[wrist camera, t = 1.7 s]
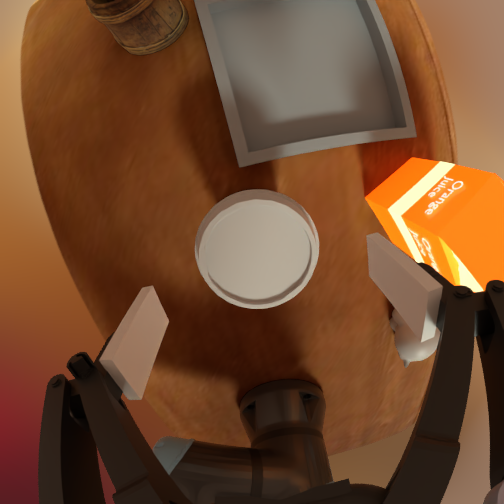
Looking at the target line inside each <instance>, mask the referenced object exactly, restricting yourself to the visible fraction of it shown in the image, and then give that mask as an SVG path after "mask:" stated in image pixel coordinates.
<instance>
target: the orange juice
mask: <svg viewBox="0 0 504 504" xmlns="http://www.w3.org/2000/svg"><path fill="white" fill-rule="evenodd" d="M365 199H366V200H367V202H368V203H369V205H370V207H371V208H372V210H373V211H374V213H375V214H376V216H377V218H378V219H379V221H380V222H381V224H382V226H383V227H384V229H385V231H386V232H387V234H388V236H389V238H390V239H391V241H392V243H394V244H395V245H396V246H398V247H399V248H400V249H402V250H403V251H404V252H406V253H407V254H408V255H409V256H411V257H412V258H413V259H415V261H416V262H418V263H420V262H423V263H425V264H428V265H430V266H431V267H433V268H434V269H435V271H437V272H439V273H440V275H442V276H443V277H445V278H446V279H447V280H448V281H449V282H450V283H452V284H453V285H454V286H456V285H463V286H467V287H469V288H471V290H472V291H473V292H481V291H485V288H486V284H487V282H489V281H490V280H501V281H503V282H504V181H503V180H502V179H501V178H499V176H497V175H496V174H495V173H494V174H493V173H489V172H485V171H481V170H477V169H473V168H468V167H463V166H459V165H455V164H452V163H446V162H441V161H440V162H438V161H432V160H426V159H420V158H413V157H412V158H411V159H409V160H408V161H407V162H406V163H405V164H404V165H403V166H401V167H400V168H399V169H398V170H397V171H396V172H394V173H393V174H392V175H391V176H390V177H389V178H387V179H386V180H385V181H384V182H383V183H382V184H380V185H379V186H378V187H377V188H376V189H374V190H373V191H372V192H371V193H370V194H369V195H367V196H366V197H365Z"/></svg>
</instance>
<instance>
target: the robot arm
mask: <svg viewBox="0 0 504 504" xmlns="http://www.w3.org/2000/svg"><path fill="white" fill-rule="evenodd" d="M366 236H367V248H368V263H369V276H370V278H371V279H372V280H373V281H374V282H375V284H376V285H377V286H378V287H379V289H380V290H381V291H382V292H383V293H384V295H385V296H386V297H387V298H388V300H389V301H390V302H391V304H392V305H393V306H394V307H395V309H396V310H397V311H398V313H399V314H400V315H401V316H402V318H403V319H404V320H405V322H406V323H407V324H408V326H409V327H410V328H411V330H412V331H413V332H414V334H415V335H416V336H417V338H418V339H419V341H420V342H424V341H426V340H428V339H431V338H433V337H434V335H435V330H436V327H437V328H438V329H439V331H440V332H441V333H440V337H439V341H438V345H437V352H436V356H435V361H434V365H433V369H432V373H431V377H430V381H429V384H428V388H427V391H426V394H425V398H424V401H423V404H422V407H421V410H420V413H419V416H418V419H417V421H416V424H415V427H414V430H413V432H412V435H411V437H410V440H409V442H408V444H407V447H406V449H405V451H404V454H403V456H402V458H401V460H400V462H399V464H398V466H397V468H396V470H395V472H394V474H393V476H392V478H391V479H390V481H389V483H388V485H387V487H386V489H384V488H382V487H379V486H375V485H369V484H350V482H349V479H345V480H341V481H338V482H334V481H333V477H332V473H331V469H330V464H329V460H328V456H327V452H326V447H325V443H324V439H323V434H322V429H323V423H324V416H325V409H326V404H325V399H324V396H323V393H322V391H321V389H320V388H319V387H317V386H316V385H314V384H312V383H310V382H307V381H302V380H293V379H288V380H278V381H272V382H268V383H265V384H262V385H260V386H258V387H256V388H254V389H252V390H251V391H249V392H248V393H247V394H246V395H245V396H244V397H243V399H242V400H241V403H240V418H241V421H242V423H243V426H244V428H245V430H246V433H247V435H248V437H249V439H250V442H251V448H245V447H236V446H227V445H220V444H213V443H207V442H201V441H195V439H183V438H177V437H172V436H166V437H163V438H161V439H160V440H158V442H157V443H156V444H155V446H154V448H153V450H152V449H151V448H150V446H149V445H148V443H147V442H146V440H145V438H144V437H143V435H142V434H141V432H140V430H139V428H138V427H137V425H136V424H135V421H134V420H133V418H132V416H131V414H130V412H129V410H128V409H127V407H126V405H125V403H124V401H123V400H122V399H121V395H122V393H124V394H125V396H126V397H127V398H128V399H129V400H141V399H142V396H143V393H144V390H145V387H146V384H147V381H148V378H149V375H150V372H151V370H152V367H153V364H154V361H155V358H156V355H157V353H158V350H159V347H160V344H161V342H162V339H163V336H164V334H165V331H166V328H167V326H168V323H169V320H168V318H167V316H166V314H165V311H164V309H163V307H162V305H161V303H160V301H159V298H158V296H157V294H156V292H155V290H154V287H153V286H148V287H144V288H142V289H141V291H140V292H139V294H138V295H137V297H136V299H135V300H134V302H133V303H132V305H131V307H130V308H129V310H128V311H127V313H126V315H125V316H124V318H123V320H122V321H121V323H120V325H119V326H118V328H117V330H116V332H114V333H113V334H112V335H111V336H110V337H109V338H108V339H107V341H106V342H105V345H104V346H103V348H102V350H101V351H100V353H99V355H98V356H97V358H96V360H95V362H94V363H93V361H92V360H91V359H90V357H89V356H88V354H87V353H86V352H80V353H77V354H75V355H74V356H72V357H71V358H70V360H69V361H68V363H67V368H68V369H69V371H70V372H71V373H72V375H73V376H74V377H75V379H73V380H69V381H68V380H67V379H66V377H65V376H64V375H63V374H59V375H56V376H54V377H53V378H51V380H50V381H49V383H48V385H47V390H46V396H45V401H44V408H43V415H42V423H41V432H40V433H41V434H40V444H39V465H38V466H39V468H38V480H39V481H38V485H39V504H106V502H105V498H104V493H103V488H102V482H101V477H100V470H99V464H98V456H97V448H98V451H99V453H100V456H101V458H102V461H103V463H104V465H105V467H106V470H107V472H108V474H109V476H110V478H111V480H112V483H113V485H114V486H115V489H116V493H114V494H113V500H114V503H115V504H440V503H441V500H442V498H443V496H444V493H445V491H446V489H447V486H448V484H449V480H450V478H451V476H452V473H453V470H454V467H455V464H456V461H457V458H458V454H459V451H460V443H459V442H458V439H459V435H460V431H461V427H462V422H463V418H464V414H465V409H466V404H467V398H468V393H469V385H470V379H471V371H472V361H473V350H474V337H475V336H476V339H477V344H478V348H479V353H480V358H481V363H482V368H483V373H484V379H485V386H486V393H487V402H488V411H489V427H490V485H491V490H490V492H489V493H488V494H487V496H486V497H485V500H484V503H483V504H504V282H503V281H501V280H490V281H489V282H487V284H486V288H485V291H481V292H473V291H472V290H471V288H469V287H467V286H463V285H456V286H454V285H453V284H452V283H450V282H449V281H448V280H447V279H446V278H445V277H443V276H442V275H440V273H439V272H437V271H435V269H434V268H433V267H431V266H430V265H428V264H425V263H423V262H420V263H415V262H414V261H413V260H412V259H411V258H409V257H408V256H407V255H406V254H404V253H403V252H402V251H401V250H399V249H398V248H397V247H396V246H394V245H393V244H392V243H391V242H389V241H388V240H387V239H386V238H384V237H383V236H382V235H380V234H379V233H374V234H370V235H366ZM96 446H97V447H96Z"/></svg>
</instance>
